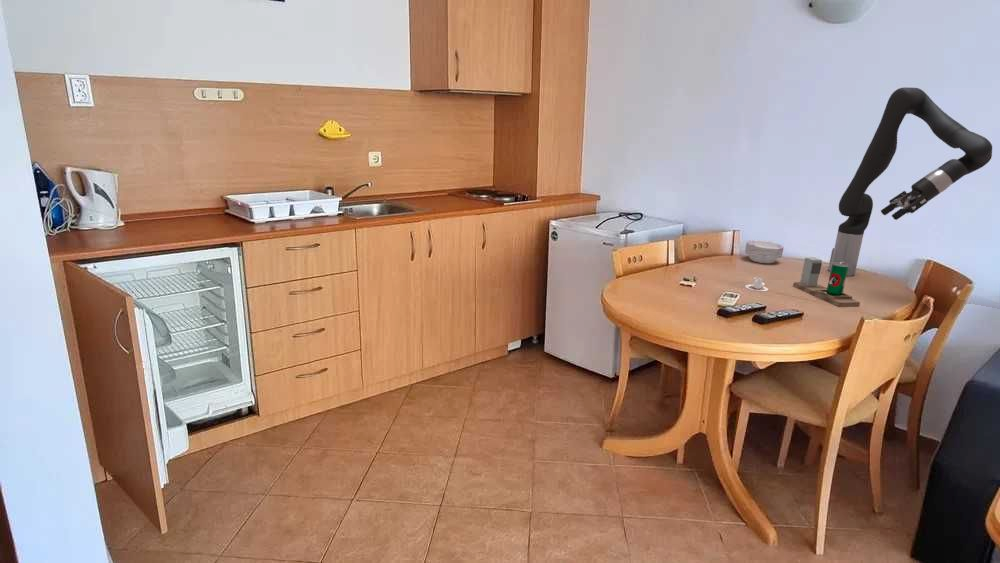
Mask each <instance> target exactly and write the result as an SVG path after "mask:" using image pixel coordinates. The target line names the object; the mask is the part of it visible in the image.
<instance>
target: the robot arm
mask: <svg viewBox="0 0 1000 563" xmlns="http://www.w3.org/2000/svg"><path fill="white" fill-rule="evenodd" d="M888 98H889V99H887V103H886V106H885V108H884V110H883V113H882V117H881V120H880V122H879V124H878V126H877V129H875V130H876V131H875V132H874V135H873V137H872V139H871V141H870V143H869V145H868V147H867V148H866V152H865V153H864V155H863V158H862V160H861V162H860V164H859V166H858V168H857V169H856V172H855V173H854V175H853V178H852V180H851V181H850V183H849V185H848V186H847V188H846V189H845V191H844V192H843V194H842V196H841V198H840V200H839V202H838V211H839V213H840V214H841V215H842V216H845V217H847V219H846V220H845V221H843V222H842V223H840V224H839V225H838V228H837V229H838V230H837V234H836V239H835V243H834V247H833V248H832V249H831V254H830V259H829V264H828V271H829V272H831V268H832V264H833V263H834V261H843V262H847V263H848V266H849V267H848V271H847V276H846V277H848V276H849V277H853V276H855V275H856V270H857V267H858V266H857V265H858V262H859V256H860V252H861V248H862V243H863V238H864V234H865V231H866V229H867V227H868V226H869V224H870V219H871V215H872V213H873V208H874V201H873V198H872V196H871V195H870V194H868V193H866V192H867V190H868V188H869V186H870V185H872V183H873V182H875V181H876V180H877V179H878V178H879V177H880V176H881V175H882V174H883V173H884V172H885V171H886V170H887V169H888V167H889V166H890V164H891V162H892V160H893V158H894V156H895V154H896V151H897V148H898V132H899V128H900V126H901V124H902V123H903V121H904V119H905V116H906V115H914V116H915V117H918V118H919V119H921V120H923V121H924V122H925V123H926V124H927V126H928V127H929V128H930V130H931V131H932V133H933V135H934V136H936V137H937V138H938V139H939V140H941V141H942V142H943V143H945V144H946V145H947V146H948V147H950V148H952V149H960V150H961V151H963V152H964V153H965V154H964V155H963V156H961V157H959V158H952V159H949V160H948V161H945V162H944V163H943V164H941V165H940V166H938V168H936V169H933V170H932V171H930V172H929V173H927V174H926V175H924V176H923V177H922V178H920V179H919V180H917V181H916V182H915V183H913V184H912V185H911V186H910V188H911V191H909V192H907V191H906V190H903V191H901V193H899V194H897V195H896V196H894V197H893V198H892V199H890V200H889V201H888V202H889V204H888V205H886V206H885V207H884V208H882V209H881V210H880V213H881V214H882V215H883V216H887V215H888V214H890V213H891V212H893V211H894V210H895V209H898V208H900V209H898V210H897V211H894V213H893V214H891V217H892V218H893V220H895V221H898V220H899V219H900V218H902V217H903V216H904V215H906V214H907V215H908V214H913V213H915V212H916V211H918V210H919V209H920V208H922V207H923V206H925V205H927V203H928V202H930V201H931V200H932V199H933V198H935V197H937V196H938V195H940V194H941V193H943V192H944V191H946V190H947V189H948V188H949V187H951V185H953V184H954V183H956V182H957V181H959V180H960V179H961V178H963V177H964V176H966V175H970V174H971V173H973V172H975V171H978V170H980V169H981V168H983V167H984V166H985V165H987V164H988V163H989V162H990V161H991V160H992V157H993V144H992V143H991V142H990V140H988V138H986V137H985V136H983V135H981V134H978V133H976V132H973V131H971V130H969V129H968V128H966V127H965V126H964V125H963V124H961V123H959V122H958V121H957V120H955V119H954V118H952V117H951V116H950V115H948V114H947V113H946V112H945V111H944V110H943V109H942V108H940V107H939V106H938V105H937V104H936V103H935V102H934V101H933V100H932V98H930V96H929V95H928V94H927V93H926V92H925V91H924V90H923V89H920V88H918V87H900V88H897V89H896V90H894V91H893V92H892V93H891V95H890V96H889V97H888ZM852 275H853V276H852Z"/></svg>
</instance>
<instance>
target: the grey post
mask: <svg viewBox="0 0 1000 563" xmlns="http://www.w3.org/2000/svg"><path fill="white" fill-rule="evenodd" d="M822 261H823V260H822V259H820V258H817V257H815V256H814V257H812V256H810V257H807V256H806V257H804V261H803V262H804V263H803V267H802V272H801V276H800V277H801V278H800V281H799V282H800V283H801V284H804V285H806V286H817V284H818V282H819V277H820V273H821V269H822V265H823V263H822Z"/></svg>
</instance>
